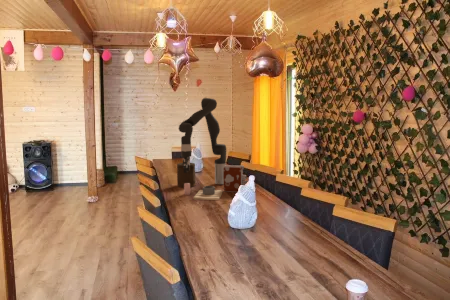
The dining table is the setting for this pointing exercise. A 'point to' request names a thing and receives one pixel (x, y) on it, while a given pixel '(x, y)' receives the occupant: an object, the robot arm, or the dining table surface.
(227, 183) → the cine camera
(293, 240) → the dining table surface
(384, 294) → the dining table surface
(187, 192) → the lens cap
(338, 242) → the dining table surface
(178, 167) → the wooden container
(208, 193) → the lens barrel
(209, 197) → the mount board
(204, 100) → the robot arm
